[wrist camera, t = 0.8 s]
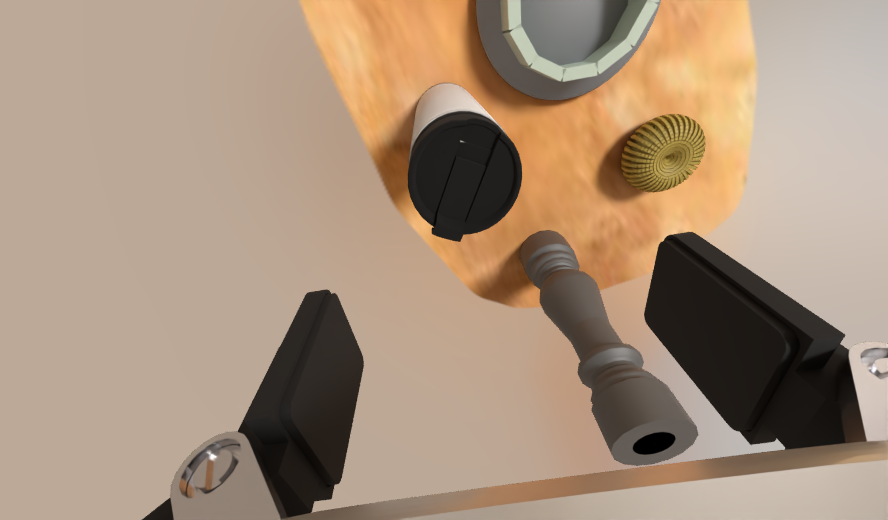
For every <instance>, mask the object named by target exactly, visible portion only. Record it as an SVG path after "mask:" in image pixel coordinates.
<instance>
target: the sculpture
mask: <svg viewBox="0 0 888 520" xmlns="http://www.w3.org/2000/svg"><path fill="white" fill-rule="evenodd" d="M644 129H645V130H644ZM640 134H641V135H642V136H641V135H640ZM703 134H704V133H703V130H701V128H700V125H699V124H698V123H697V122H696V121H695V120H693V119H690V118H689V117H687V116H683V115H679V114H677V115H676V114H670V115H663V116H660V117H656V118H654V119H653V120H650V121H648V122H647V123H645V124H643V125H642V126H641V127H640V129H638V130H636V131H635V135H632V136H631V137H630V138H631V139H632V140H634V141H635V142H637V143H638V144H637V143H635V142H632V141H629V140H628V142H627V144H629V145H631V146H625V147H624V150H625V151H624V152H623V154H622V159H621V169H622V173H623V175H624V177H625V179H626V180H627V181H628V183H629V184H630V185H632V186H633V187H634V188H637V189H639V190H642V191H645V192H659V191H665V190H668V189H671V188H672V187H675V186H677V185H678V184H681V183H682V182H683V181H684V180H686V179H687V178H688V177H689V176H688V175H691V174H692V173H693V172H692V171H691V170H690V169H693V170H695V169H696V168H697V167H696V166H694V165H699V164H700V162H701V161H700V160H701V159H702V158H703V153H704V151H705V148H704V147H705V136H704V135H703ZM688 137H689V138H688ZM697 156H698V157H697ZM687 167H688V168H687ZM689 168H690V169H689ZM682 174H683V175H682ZM652 177H653V178H652Z"/></svg>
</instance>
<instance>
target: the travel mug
mask: <svg viewBox="0 0 888 520" xmlns="http://www.w3.org/2000/svg"><path fill="white" fill-rule="evenodd" d="M521 181H522V165H521V161H520V157H519V153H518V151H517V149H516V147H515V145H514V143H513V142H512V141H511V140H510V139H509V137H508V136H507V135H506V133H505V132H504V130H503V129H502V128H501V127H500V125H499V124H498V123H497V122H496V121H495V120H494V119H493V118H492V117H491V116H490V115H489V114H488V113H487V112H486V110H485V109H484V108H483V107H482V106H481V105H480V104H479V103H478V102H477V101H476V100H475V99H474V98H473V97H472V96H471V95H470V94H469V93H468V92H467V91H466V90H465V89H464V88H463V87H461V86H459V85H457V84H453V83H441V84H437V85H435V86H432V87H431V88H429V89H428V90H427V91H426V92H425V93H424V94H423V95H422V97H421V98H420V100H419V102H418V105H417V108H416V114H415V121H414V128H413V135H412V142H411V149H410V156H409V170H408V188H409V193H410V197H411V200H412V202H413V204H414V206H415V208H416V210H417V211H418V213H419V214H420V215H421V217H422V218H424V219H425V220H426V221H427V222H428V223H429V224H431V225H432V226H433V227H434V228H432V234H433V235H436V236H438V237H441V238H445V239H449V240H453V241H458V242H460V241H461V239H462V236H463V235H464V234H473V233H478V232H481V231H483V230H486V229H488V228H490V227H491V226H493V225H495V224H496V223H498V222H499V221H500V220H501V219H502V218H503V217H504V216H505V215H506V214H507V213H508V212H509V210H510V209H511V208H512V206H513V204H514V203H515V201H516V199H517V197H518V194H519V190H520V187H521Z"/></svg>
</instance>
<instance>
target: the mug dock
mask: <svg viewBox="0 0 888 520" xmlns="http://www.w3.org/2000/svg"><path fill="white" fill-rule="evenodd" d="M660 1H661V0H476V18H477V25H478V31H479V35H480V39H481V43H482V45H483V48H484V50H485V53H486V55H487V57H488V59H489V61H490V63H491V65H492V66H493V67H494V69H495V70H496V72H497V73H498V74H499V75H500V76H501V77H502V78H503V79H504V80H505V81H506V82H507V83H508V84H509V85H511V86H512V87H513V88H515V89H516V90H518V91H520V92H522V93H524V94H526V95H529V96H532V97H535V98H539V99H544V100H563V99H569V98H573V97H577V96H580V95H582V94H585V93H587V92H590V91H591V90H593V89H595V88H597V87H599V86H600V85H602V84H603V83H605V82H606V81H608V80H609V79H610V78H611V77H612V76H614V75H615V74H616V73H617V72H618V71H619V70H620V69H621V68H622V67H623V66H624V65H625V64H626V63H627V62H628V61H629V60H630V58H631V57H632V56H633V54H634V53H635V52H636V51H637V49H638V48H639V46H640V45H641V43H642V41H643V40H644V38H645V37H646V35H647V33H648V31H649V29H650V27H651V25H652V23H653V20H654V18H655V16H656V13H657V11H658V8H659V4H660Z"/></svg>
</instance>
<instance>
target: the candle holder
mask: <svg viewBox="0 0 888 520" xmlns="http://www.w3.org/2000/svg"><path fill="white" fill-rule="evenodd" d="M520 260H521V262H522V264H523V267H524V269H525V271H526V273H527V275H528V277H529V279H530V280H531V281H533V283H534V285H535V286H536V287H538V288H539V289H540V304H541V306H542V308H543V310H544V312H545V314H546V315H547V316H548V317H549V318H550V319H551V320H552V321H553V323H554V324H555V325H556V326H557V327H558V328H559V329H560V330H561V331H562V333H564V335H565V336H566V337H567V338H568V339H569V340H570V341H571V343H572V345H573V347H574V349H575V351H576V353H577V355H578V357H579V359H580V361H581V362H580V363H579V367H578V375H579V377H580V379H581V381H582V383H583V384H584V385H586V386H587V387H589V388H591V389H592V397H591V402H592V404H593V406H592V412H593V415H594V417H595V419H596V421H597V423H598V426H599V428H600V430H601V432H602V434H603V436H604V439H605V441H606V443H607V445H608V447H609V449H610V452H611V454H612V455H613V458H614V459H615V460H616V461H619V462H620V463H623V464H627V465H636V466H638V465H648V464H654V463H658V462H661V461H665V460H668V459H671V458H673V457H675V456H677V455H679V454H681V453H683V452H684V451H685V450H686V449H688V448H689V447H690V446H691V445H693V443H694V442H695V440H696V438H697V436H698V432H697V427H696V425H695V424H694V423H693V421H692V420H691V418H690V417H689V416H688V414H687V413H686V411H685V410H684V409H683V407H682V406H681V404H680V403H679V402H678V400H677V399H676V397H675V396H674V395H673V393H672V392H671V391H670V389H669V388H668V386H667V385H666V384H664V383H663V382H662V381H660V380H659V379H657V378H656V377H655V376H653V375H652V374H651V373H649V372H647V371H645V370H643V369H642V366H643V363H644V362H643V359H642V355H641V354H640V352H639V351H637V350H636V349H635V348H634V347H632V346H631V345H628V344H623V343H622V341H621V340H620V338H619V337H618V335H617V334H616V332H615V331H614V329H613V328H612V326H611V325H610V323H609V320H608V317H607V314H606V311H605V307H604V304H603V301H602V298H601V294H600V291H599V288H598V285H597V283H596V282H595V280H594V279H593V278H591V277H590V276H589V275H588V274H586V273H585V272H583V271H579V264H578V261H577V259H576V256H575V253H574V251H573V249H572V248H571V247H570V245H569V244H568V242H567V241H566V240H565V238H564V237H563V236H561V235H560V234H559V233H558V232H554V231H550V230H547V231H539V232H537V233H535V234H533V235H531V236H530V237H528V238H527V239H526V240H525V241H524V242H523V244H522V247H521V249H520Z"/></svg>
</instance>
